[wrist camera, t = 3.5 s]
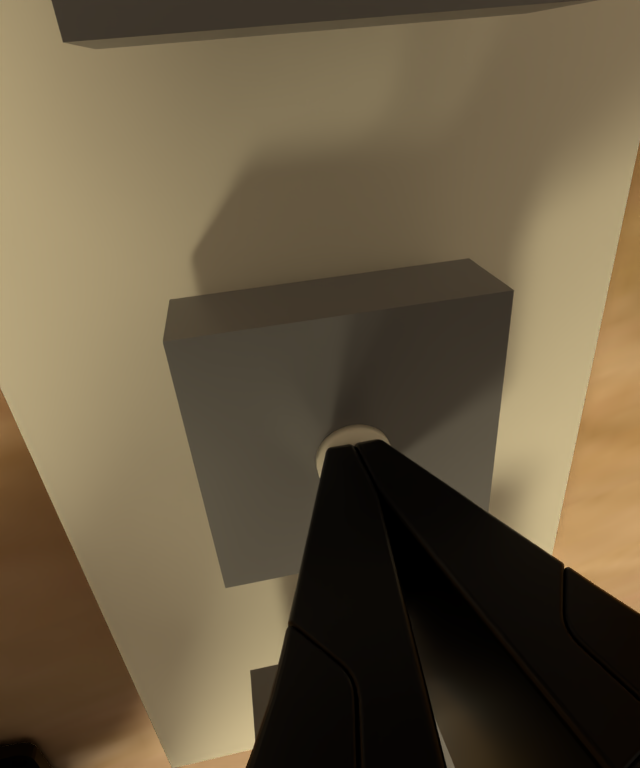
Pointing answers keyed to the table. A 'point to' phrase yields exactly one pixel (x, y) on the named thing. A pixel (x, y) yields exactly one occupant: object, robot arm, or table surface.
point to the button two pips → (257, 17)
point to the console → (286, 272)
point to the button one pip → (333, 393)
